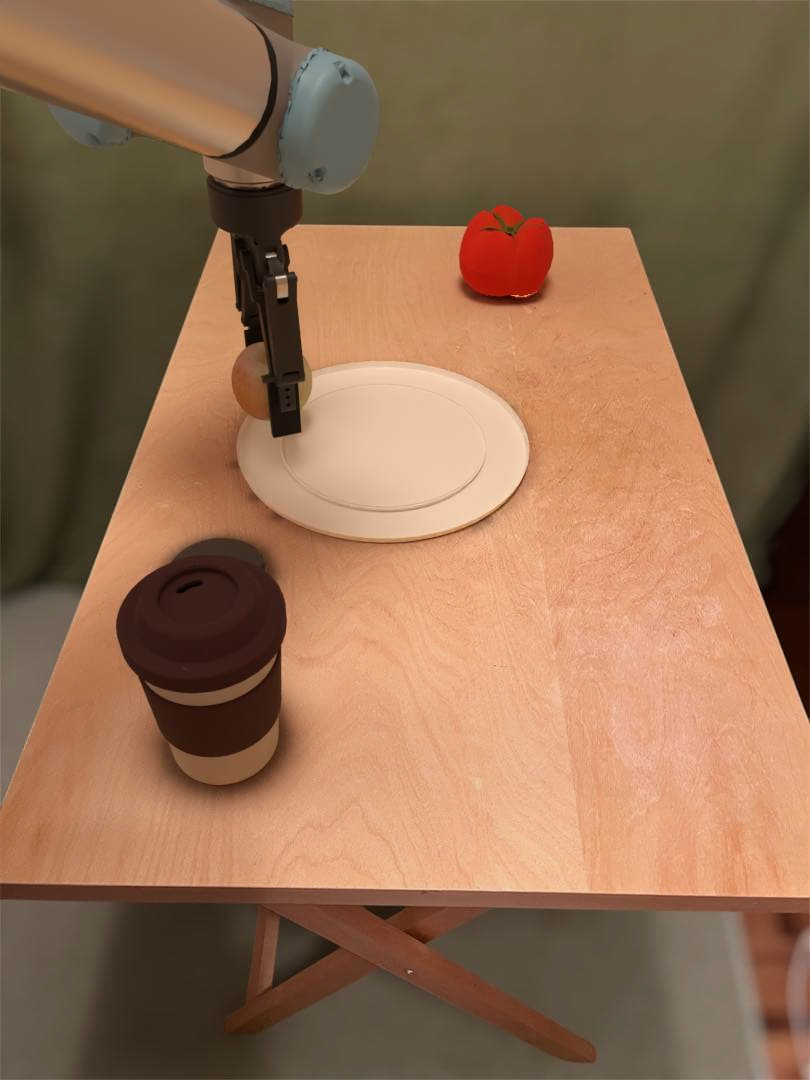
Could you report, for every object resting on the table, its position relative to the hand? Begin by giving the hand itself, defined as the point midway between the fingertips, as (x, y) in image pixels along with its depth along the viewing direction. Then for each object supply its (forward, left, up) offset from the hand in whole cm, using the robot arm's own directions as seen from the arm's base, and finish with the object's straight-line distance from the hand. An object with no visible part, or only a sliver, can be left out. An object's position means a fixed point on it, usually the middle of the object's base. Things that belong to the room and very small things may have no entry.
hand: (275, 409), depth 88 cm
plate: (+9, -6, -3) cm, 11 cm away
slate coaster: (-10, -18, -3) cm, 21 cm away
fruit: (0, 0, -1) cm, 1 cm away
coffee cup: (-13, -34, -3) cm, 36 cm away
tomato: (+34, +19, -3) cm, 39 cm away
